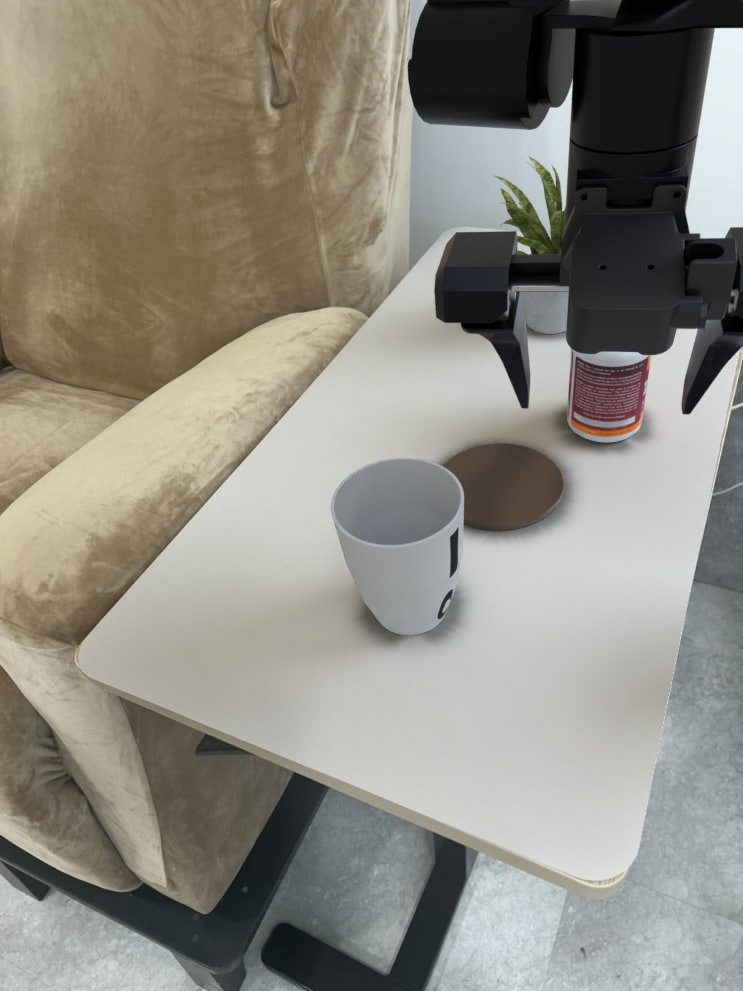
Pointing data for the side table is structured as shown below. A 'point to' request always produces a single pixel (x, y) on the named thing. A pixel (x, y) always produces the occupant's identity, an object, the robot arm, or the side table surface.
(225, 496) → the side table surface
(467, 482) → the coaster
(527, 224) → the house plant
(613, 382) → the pill bottle
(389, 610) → the cup
